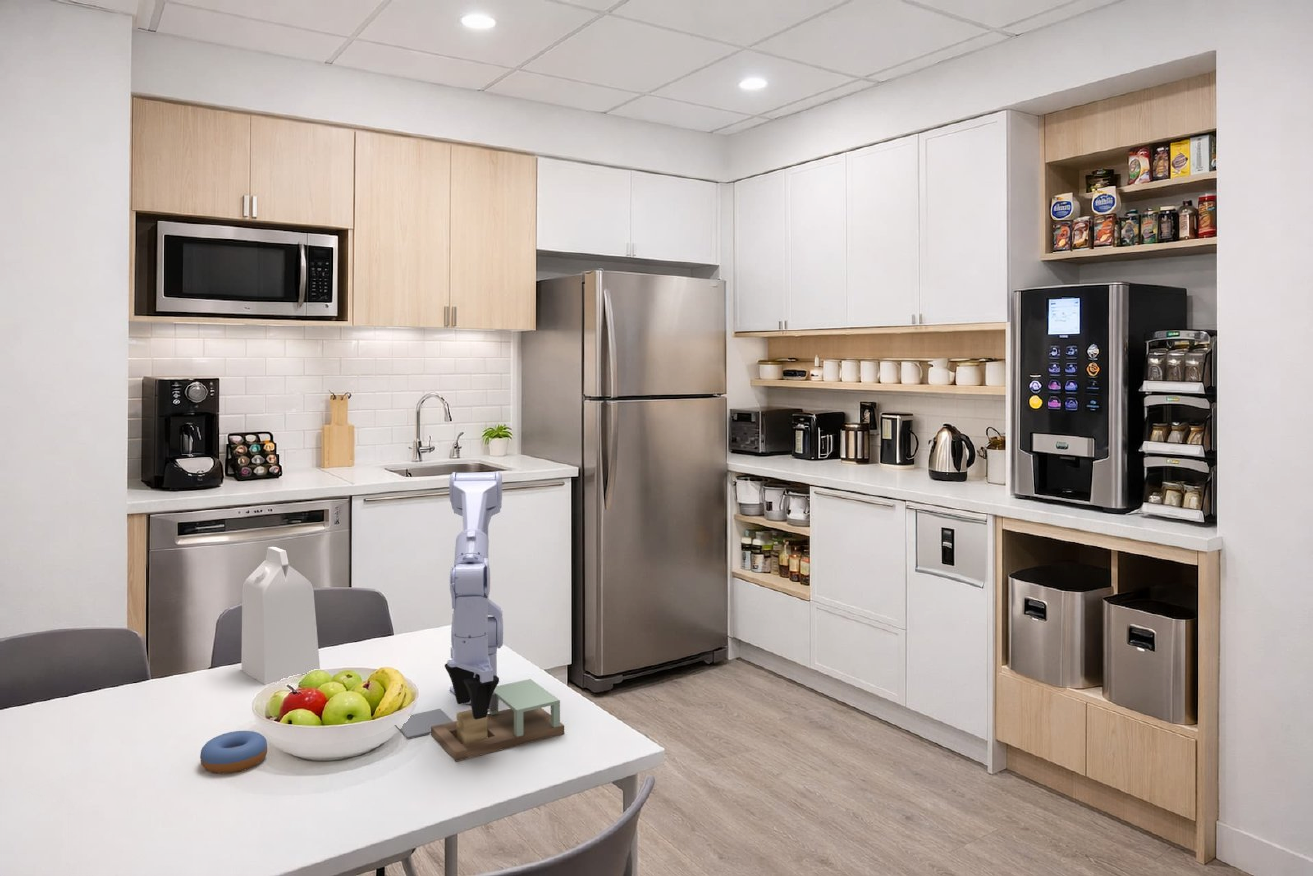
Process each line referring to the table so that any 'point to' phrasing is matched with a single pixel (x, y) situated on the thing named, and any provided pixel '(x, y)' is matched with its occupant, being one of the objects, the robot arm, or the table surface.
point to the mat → (423, 723)
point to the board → (497, 733)
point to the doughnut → (233, 752)
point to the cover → (524, 701)
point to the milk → (278, 621)
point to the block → (470, 727)
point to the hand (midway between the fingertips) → (471, 710)
